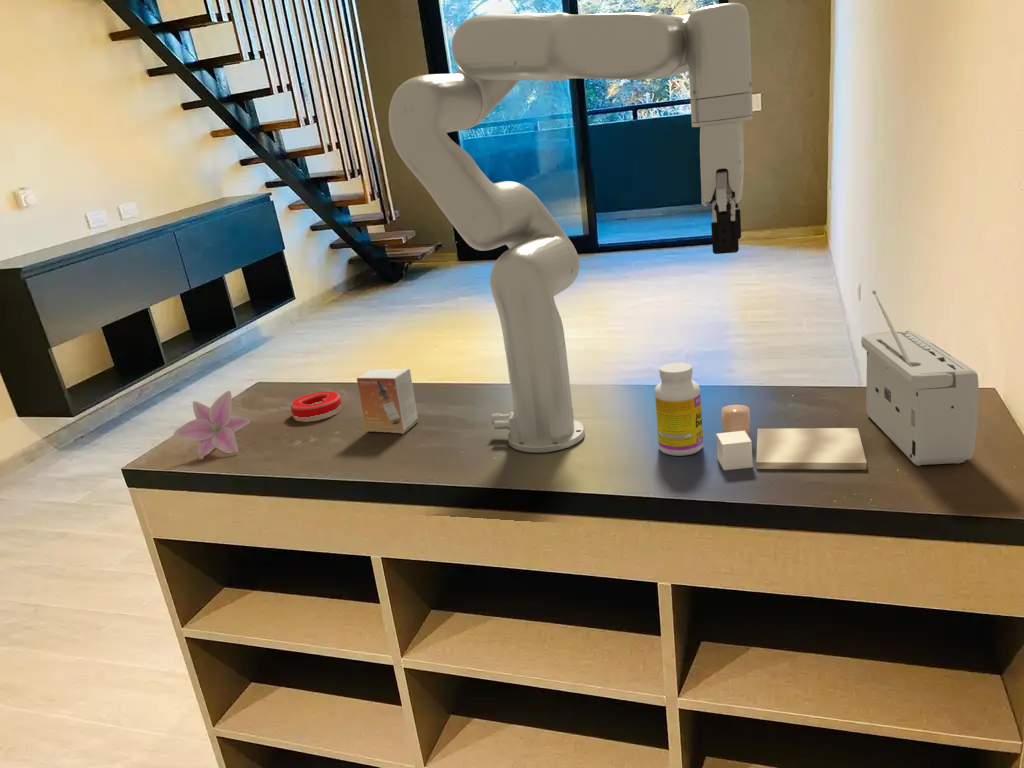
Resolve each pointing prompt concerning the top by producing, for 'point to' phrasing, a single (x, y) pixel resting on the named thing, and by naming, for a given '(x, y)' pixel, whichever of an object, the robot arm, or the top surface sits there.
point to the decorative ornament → (304, 408)
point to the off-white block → (734, 450)
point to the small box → (387, 399)
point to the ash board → (810, 449)
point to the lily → (213, 426)
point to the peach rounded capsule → (736, 419)
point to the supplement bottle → (678, 411)
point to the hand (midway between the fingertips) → (727, 245)
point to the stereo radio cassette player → (921, 396)
